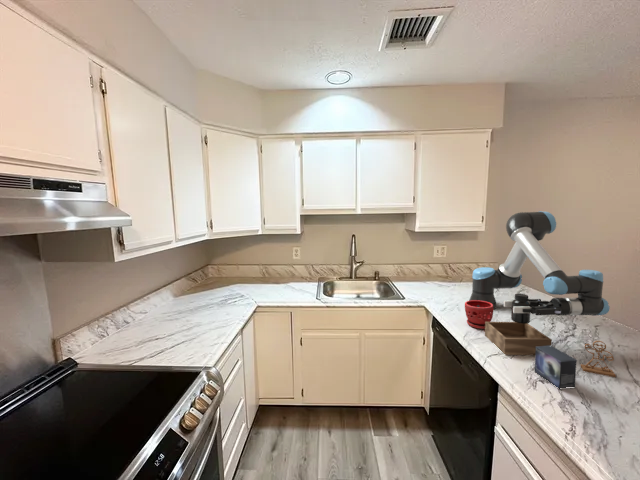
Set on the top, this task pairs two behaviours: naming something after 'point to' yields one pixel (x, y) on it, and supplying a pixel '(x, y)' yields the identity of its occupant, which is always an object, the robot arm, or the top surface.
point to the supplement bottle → (520, 301)
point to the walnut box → (515, 337)
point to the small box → (555, 366)
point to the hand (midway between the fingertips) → (508, 306)
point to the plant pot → (478, 313)
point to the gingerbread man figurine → (597, 369)
